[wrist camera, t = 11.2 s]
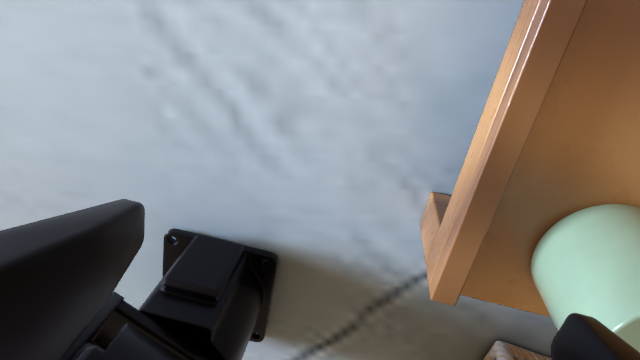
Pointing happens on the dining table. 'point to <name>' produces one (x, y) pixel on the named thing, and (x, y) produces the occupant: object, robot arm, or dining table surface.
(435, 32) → the dining table surface
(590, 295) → the ceramic canister
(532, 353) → the decorative jar
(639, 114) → the shelf
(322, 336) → the dining table surface
